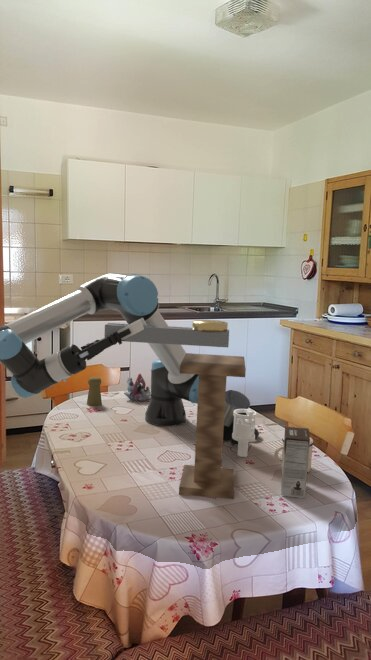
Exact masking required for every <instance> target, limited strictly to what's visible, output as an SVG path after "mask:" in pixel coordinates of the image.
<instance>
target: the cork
mask: <svg viewBox="0 0 371 660" xmlns="http://www.w3.org/2000/svg"><path fill="white" fill-rule="evenodd" d="M87 381H88V382H87V384H88V386H89V387H88V393H87V401H86V405H87V406H88V407H89V406H90V407H98V406H101V405H102V392H101V385H102V379H101V377H99V376H91V377H89V378H88V380H87Z"/></svg>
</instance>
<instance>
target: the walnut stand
mask: <svg viewBox="0 0 371 660" xmlns="http://www.w3.org/2000/svg"><path fill="white" fill-rule="evenodd" d="M246 370H247V369H246V361H245V356H241V355H237V356H236V355H224V354H223V355H221V354H207V353H206V354H205V353H192V352H191V353H190V352H189V353H188V352H186V354H185V356H184V358H183V360H182V362H181V364H180V373H184V374H199V385H198V404H197V410H196V411H197V412H196V430H195V448H194V449H195V451H194V465H192V464H191V465H189V464H184V466H183V469H182V473H181V477H180V482H179V487H178V495H182V496H183V495H184V496H185V495H186V496H196V497H208V498H220V499H232V500H233V499H234V498H235V497H234V496H235V469H234V468H232V467H231V468H229V467H222V464H223V447H224V445H223V444H224V441H223V431H224V413H225V395H226V391H227V377H235V378H246Z"/></svg>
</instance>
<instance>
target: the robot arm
mask: <svg viewBox="0 0 371 660" xmlns="http://www.w3.org/2000/svg"><path fill="white" fill-rule="evenodd" d="M156 286H157V285H156V284H155V283H154V282H153V281H152V279H150V278H148V277H146V276H143V275H140V274H132V273H131V274H127V273H118V272H110V273H106V274H103V275H100V276H98V277H96V278H93V279H92V280H89V281H88V282H85V283H83V284H81V285H79V286H77V288H76V291H74V292H72V293H69V294H67V295H66V296H63V297H62V298H59V299H56V300H55V301H53V302H51V303H48V304H46V305H44V306H41V307H40V308H38V309H35V310H34V311H32V312H31V311H30V313H27V314H25V315H23V316H21V317H20V318H19V317H18V318H17V319H15V320H13V321H11V322H8V323H7V324H4V325H1V326H0V364H1V365H2V366H4V368H6V369H7V370H8V372H10V373H11V374H12V376H11V378H10V384H11V387H12V389H13V390H14V392H15V393H16V395H17V396H19V397H20V398H23V399H27V398H31V397H33V396H34V395H38V394H40V393H42V392H43V391H45V390H47V389H49V388H50V387H52V386H54V385H56V384H59V383H61V382H64V383H66V382H67V379H68V378H70V377H72V376H73V375H77V374H78V373H80V372H82V371H84V370H86V368H87V361H90V360H92V359H93V358H94V357H96V356H98V355H100V354H101V353H102V352H104V350H107V349H108V348H110V347H112V346H115V345H117V343H118V345H122V344H123V341H121V340H124V339H126V338H128V337H130V336H132V335H134V334H136V333H138V332H140V331H142V330H144V327H143V325H153V326H169V325H168V322H166V320H165V319H164V317H163V316H162V314H161V312H160V311H159V307H160V303H159V298H158V296H159V291H158V288H157V287H156ZM106 310H107V311H114V312H118V313H120V315H121V317H123V319H124V321H126V324H130V325H128V326H126V327H124V328H122V329H121V330H119V331H117V332H118V334H117V332H116V333H113V334H112V335H110V336H108V337H106V338H105V337H104V338H101V339H96V340H94V341H92V342H88V343H87V344H84V345H83V346H81V347H80V348H79V346H77V345H76V344H69V345H68V346H66V347H64V348H62V349H61V350H56V352H53V353H52V354H50V355H48V356H46V357H45V358H42V359H40V360H39V358H38V357H37V356H36V355H35V354H34V353H33V352H32V350H31V349H30V348H29V347H28V346H27V345H28V344H29V343H31V342H33V341H35V340H37V339H38V338H41V337H43V336H45V335H46V334H49V333H51V332H53V331H54V330H56V329H58V328H61V327H63V326H65V325H66V324H68V323H71V322H72V321H75V320H76V319H79V318H81V317H83V316H84V315H87V314H89V315H94V314H96V313H98V312H100V311H106ZM120 339H121V340H120ZM26 344H27V345H26ZM147 344H148V346H149V347H150V348H151V350H152V351H153V352H154V354H155V356H157V358H158V359H154V360H153V361H152V363H151V369H150V371H151V372H150V373H151V374H150V376H151V377H150V394H151V396H150V398H149V399H150V400H149V401H148V405H147V408H146V411H145V414H144V415H145V416H144V417H145V418H144V420H145V421H146V422H147V423H149V424H152V425H155V426H161V427H172V426H178V425H179V426H180V425H182V424H184V423H185V422H186V420H187V413H186V409H185V406H184V403H183V400H184V401H187V402H190V403H192V404H197V405H198V385H199V374H184V373H180V364H181V362H182V360H183V358H184V356H185V354H186V353H187V352H186V350H185V349H184V347H183V345H177V344H160V343H147Z"/></svg>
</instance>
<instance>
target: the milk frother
mask: <svg viewBox="0 0 371 660" xmlns="http://www.w3.org/2000/svg"><path fill="white" fill-rule="evenodd" d="M250 406H251V401H250V399H249V398H248V397H247V396H246V395H245V394H244V393H242V392H240V391H238V390H234V389H229V390H226V395H225V413H224V431H223V442H224V441H225V442H227V441H230V443H231V444H232V445H238V441H236V440H234V439H233V438H232V433H233V426H234V415H233V412H234V410H236V409H250V408H251V407H250ZM237 414H240V415H248V413H237ZM254 434H255V439H257V438H259V436H260V431H259V430H258V429H257V428H255V430H254Z"/></svg>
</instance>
